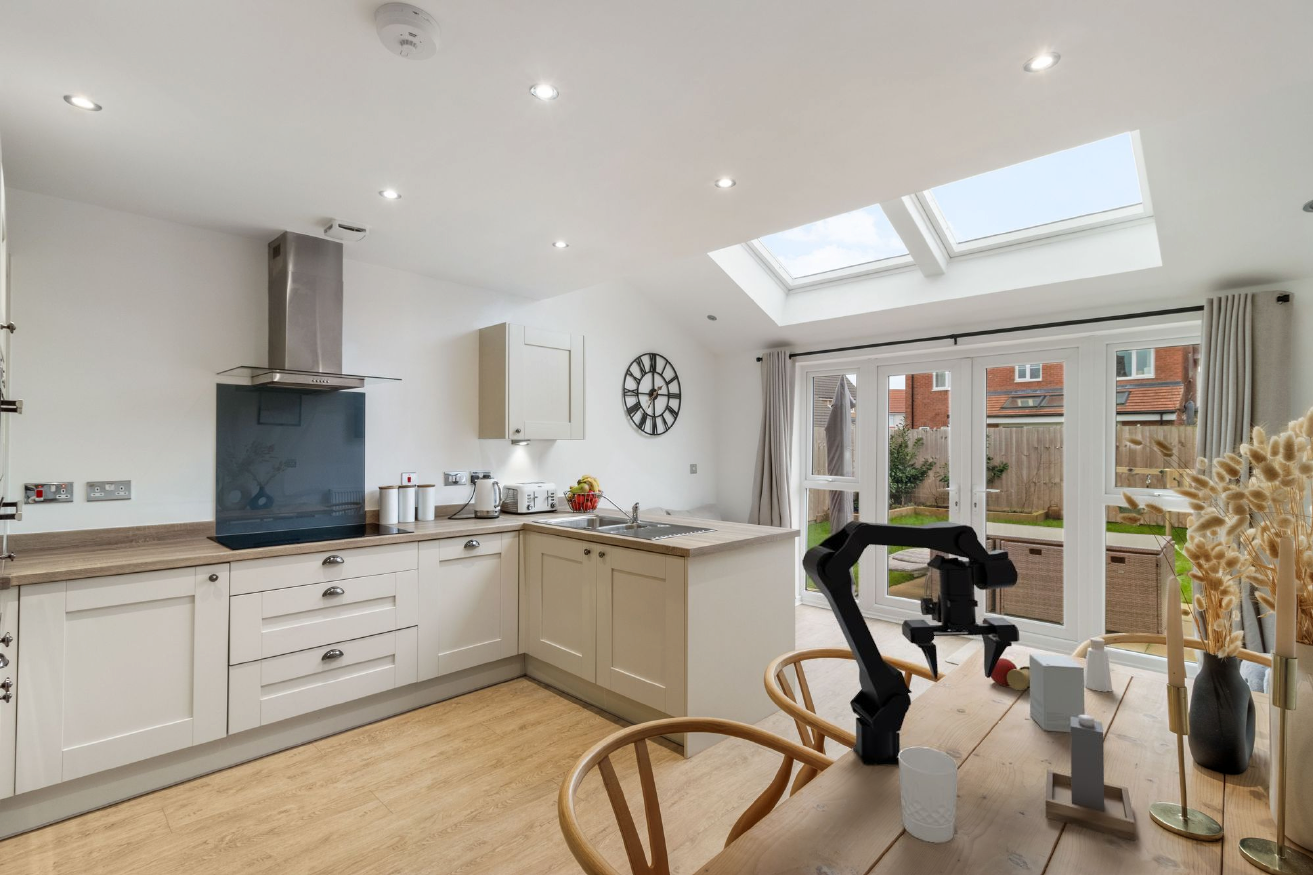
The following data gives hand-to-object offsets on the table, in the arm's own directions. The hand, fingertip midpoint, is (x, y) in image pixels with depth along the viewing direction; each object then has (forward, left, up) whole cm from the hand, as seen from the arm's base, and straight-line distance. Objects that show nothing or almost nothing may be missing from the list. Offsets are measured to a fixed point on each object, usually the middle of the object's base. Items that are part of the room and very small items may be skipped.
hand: (961, 677), depth 115 cm
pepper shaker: (+45, +28, -13) cm, 54 cm away
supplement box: (+24, +10, -13) cm, 29 cm away
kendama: (+28, +25, -13) cm, 40 cm away
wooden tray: (+10, -19, -13) cm, 25 cm away
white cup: (-16, -23, -13) cm, 32 cm away
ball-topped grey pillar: (+10, -19, -12) cm, 25 cm away
